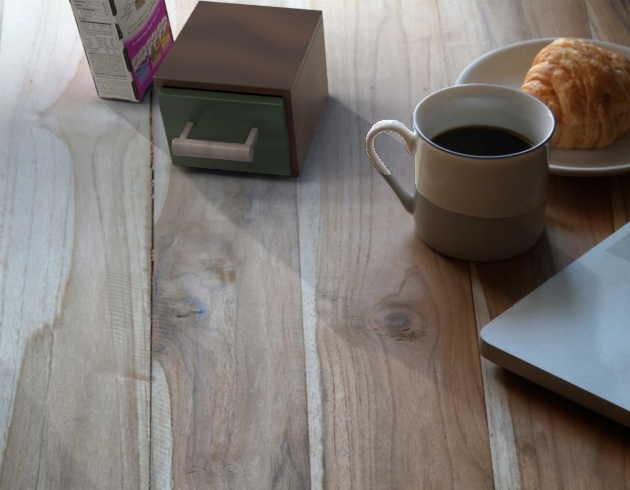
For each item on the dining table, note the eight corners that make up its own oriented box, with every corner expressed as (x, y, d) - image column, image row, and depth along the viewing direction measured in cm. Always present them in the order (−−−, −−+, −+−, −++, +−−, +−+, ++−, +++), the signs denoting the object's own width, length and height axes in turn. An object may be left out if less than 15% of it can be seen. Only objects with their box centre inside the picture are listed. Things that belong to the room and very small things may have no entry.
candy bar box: (135, 46, 106) (99, -104, 94) (177, 50, 105) (146, -99, 93) (94, 99, 98) (49, -56, 86) (139, 105, 98) (101, -51, 86)
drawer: (279, 204, 86) (270, 132, 80) (158, 192, 86) (140, 120, 81) (318, 98, 98) (312, 29, 92) (211, 89, 98) (199, 20, 93)
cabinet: (299, 176, 90) (290, 89, 83) (172, 165, 91) (152, 77, 84) (328, 94, 100) (322, 10, 93) (213, 84, 101) (198, 0, 94)
